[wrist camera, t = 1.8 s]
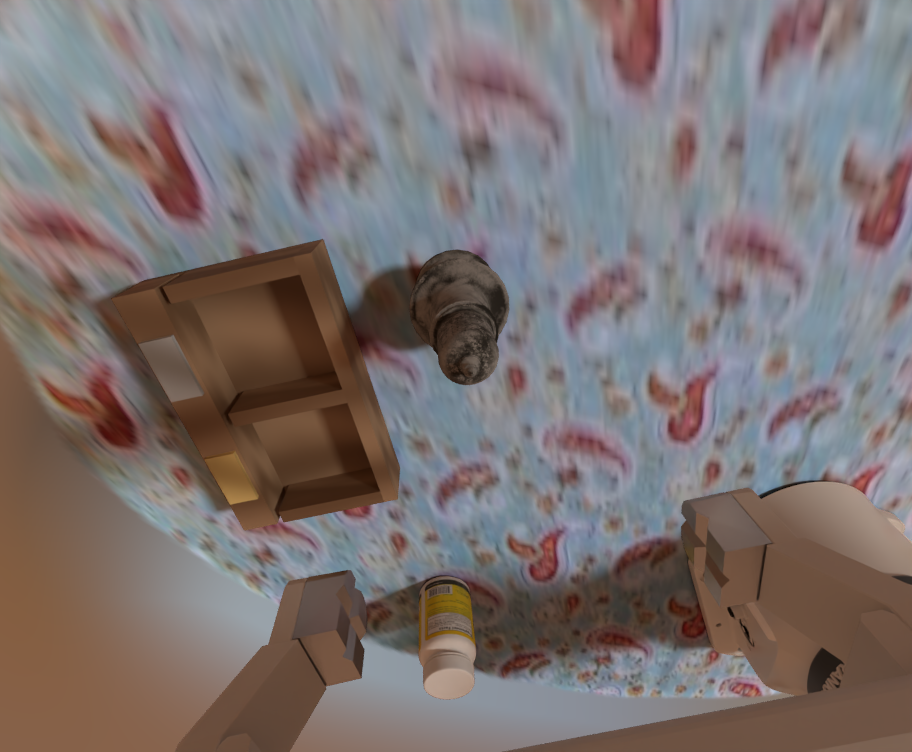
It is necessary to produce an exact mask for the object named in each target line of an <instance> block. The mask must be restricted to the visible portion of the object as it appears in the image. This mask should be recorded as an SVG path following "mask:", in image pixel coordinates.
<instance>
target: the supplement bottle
mask: <svg viewBox="0 0 912 752" xmlns="http://www.w3.org/2000/svg"><path fill="white" fill-rule="evenodd" d="M475 657H476V644H475V635H474V625H473V616H472V607H471V597H470V590H469V588H468V586H467V584H466V583H465V582H464V581H462V580H460V579H458V578H455V577H451V576H440V577H436V578H433V579H431V580H429V581H428V582H426V583H425V584H424V585H423V587H422V588H421V590H420V593H419V660H420V663H421V665H422V666H423V684H424V689H425V691H426V692H427V693H428V694H429V695H431V696H433V697H435V698H439V699H455V698H459V697H462V696H464V695H466V694H467V693H469V692H470V691H471V690H472V688H473V686H474V666H473V662H474V660H475Z"/></svg>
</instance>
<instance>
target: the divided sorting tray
mask: <svg viewBox="0 0 912 752" xmlns="http://www.w3.org/2000/svg"><path fill="white" fill-rule="evenodd" d="M111 299H112V301H113V303H114V304H115V306H116V308H117V310H118V311H119V313H120V315H121V317H122V318H123V320H124V322H125V324H126V325H127V327H128V329H129V331H130V332H131V334H132V336H133V338H134V339H135V341H136V343H137V345H138V346H139V348H140V350H141V351H142V353H143V355H144V357H145V358H146V360H147V362H148V364H149V365H150V367H151V369H152V371H153V372H154V374H155V376H156V378H157V379H158V381H159V383H160V385H161V386H162V388H163V390H164V392H165V393H166V395H167V397H168V398H169V400H170V402H171V404H172V405H173V407H174V409H175V411H176V412H177V414H178V416H179V418H180V419H181V421H182V423H183V425H184V426H185V428H186V430H187V432H188V433H189V435H190V437H191V439H192V440H193V442H194V444H195V445H196V447H197V449H198V451H199V452H200V454H201V456H202V458H203V459H204V461H205V463H206V465H207V466H208V468H209V470H210V472H211V473H212V475H213V477H214V479H215V480H216V482H217V484H218V486H219V487H220V489H221V491H222V493H223V494H224V496H225V498H226V499H227V501H228V503H229V505H230V506H231V508H232V510H233V512H234V513H235V515H236V517H237V519H238V520H239V522H240V524H241V526H242V527H243V529H244V530H249V529H254V528H259V527H263V526H268V525H273V524H277V523H278V520H279V518H280V516H281V518H282V520H283V522H288V521H293V520H298V519H303V518H308V517H313V516H318V515H322V514H327V513H332V512H337V511H342V510H347V509H352V508H357V507H362V506H367V505H372V504H377V503H381V502H386V501H391V500H396V499H398V488H399V475H400V466H399V463H398V460H397V457H396V454H395V451H394V448H393V445H392V442H391V439H390V436H389V433H388V430H387V427H386V424H385V421H384V418H383V415H382V412H381V409H380V407H379V404H378V401H377V398H376V395H375V392H374V389H373V386H372V383H371V380H370V377H369V374H368V371H367V368H366V365H365V362H364V359H363V356H362V353H361V350H360V347H359V344H358V341H357V338H356V335H355V332H354V329H353V326H352V323H351V320H350V317H349V314H348V311H347V308H346V305H345V302H344V299H343V296H342V293H341V290H340V287H339V284H338V282H337V279H336V276H335V273H334V270H333V267H332V264H331V261H330V258H329V255H328V252H327V249H326V246H325V243H324V240H323V239H322V240H317V241H313V242H309V243H304V244H300V245H296V246H291V247H287V248H283V249H278V250H274V251H270V252H265V253H261V254H257V255H252V256H248V257H244V258H239V259H235V260H231V261H226V262H222V263H218V264H213V265H209V266H205V267H200V268H196V269H191V270H187V271H183V272H178V273H174V274H170V275H165V276H161V277H157V278H152V279H148V280H144V281H143V282H141V283H139V284H137V285H135V286H133V287H132V288H130V289H128V290H126V291H124V292H122V293H121V294H119V295H117V296H115V297H113V298H111Z"/></svg>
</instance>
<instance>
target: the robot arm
mask: <svg viewBox="0 0 912 752" xmlns="http://www.w3.org/2000/svg"><path fill="white" fill-rule="evenodd" d="M681 513H682V515H683V516H684V518H685V519H686V521H685V522H684V524H683V525H682V526H681V538H682V541H683V545H684V549H685V551H686V553H687V555H688V557H689V560H688V565H689V569H690V572H691V576H692V580H693V583H694V587H695V590H696V594H697V598H698V601H699V605H700V608H701V612H702V616H703V619H704V623H705V626H706V630H707V634H708V637H709V640H710V643H711V645H712V646H713V648H714V649H715V650H716V651H717V652H718V653H722V654H727V655H737V656H745V657H746V658H747V660H748V662H749V663H750V665H751V666H752V668H753V669H754V671H755V672H756V674H757V675H758V677H759V678H760V680H761V681H762V682H763V683H764V684H765V685H766V686H768V687H769V688H771V689H773V690H776V691H779V692H783V693H787V694H791V695H795V696H793V697H788V698H783V699H777V700H772V701H767V702H761V703H757V704H751V705H746V706H741V707H735V708H730V709H725V710H720V711H714V712H709V713H703V714H698V715H693V716H688V717H683V718H678V719H672V720H667V721H661V722H656V723H651V724H645V725H640V726H635V727H630V728H624V729H619V730H614V731H608V732H603V733H598V734H592V735H587V736H582V737H577V738H571V739H566V740H561V741H556V742H551V743H545V744H540V745H535V746H530V747H524V748H520V749H514V750H509V751H503V752H912V542H911V541H910V540H909V539H908V538H907V537H906V536H905V535H904V534H903V533H904V530H905V525H904V524H903V523H902V522H901V521H900V520H899V519H898V518H897V517H896V516H895V515H894V514H892V513H890V512H887V511H884V510H880V509H877V508H876V507H875V506H874V505H873V504H872V503H871V502H870V500H869V499H868V498H867V497H866V496H865V495H864V494H863V493H862V492H861V491H859V490H858V489H856V488H854V487H852V486H849V485H846V484H842V483H837V482H811V483H804V484H799V485H795V486H791V487H788V488H785V489H782V490H780V491H777V492H775V493H772V494H770V495H768V496H766V497H764V498H762V499H761V498H760V497H759V496H758V495H757V494H756V493H755V492H754V491H753V490H752V489H750V488H743V489H738V490H733V491H729V492H726V493H724V492H723V493H718V494H714V495H709V496H704V497H700V498H695V499H691V500H686V501H684V502H683V504H682V512H681ZM355 581H356V579H355V577H354V575H353V573H352V571H351V570H346V571H340V572H335V573H329V574H324V575H318V576H312V577H308V578H303V579H297V580H292V581H289V582H288V584H287V585H286V586H285V589H284V592H283V595H282V599H281V602H280V606H279V609H278V613H277V616H276V620H275V623H274V627H273V631H272V634H271V637H270V641H269V644H268V645H265V646H262V647H261V648H260V649H259V651H258V652H257V653H256V654H255V655H254V656H253V657H252V659H251V660H250V661H249V662H248V663H247V664H246V666H245V667H244V668H243V669H242V671H241V672H240V673H239V674H238V675H237V676H236V677H235V678H234V680H233V681H232V682H231V683H230V684H229V685H228V687H227V688H226V689H225V690H224V691H223V692H222V694H221V695H220V696H219V697H218V698H217V699H216V701H215V702H214V703H213V704H212V705H211V706H210V708H209V709H208V710H207V711H206V712H205V713H204V715H203V716H202V717H201V718H200V719H199V720H198V721H197V723H196V724H195V725H194V726H193V727H192V729H191V730H190V731H189V732H188V733H187V734H186V735H185V737H184V738H183V739H182V740H181V741H180V742H179V744H178V745H177V748H176V751H175V752H290V750H291V748H292V746H293V745H294V743H295V741H296V740H297V738H298V736H299V735H300V733H301V731H302V729H303V728H304V726H305V724H306V723H307V721H308V719H309V717H310V716H311V714H312V712H313V711H314V709H315V707H316V706H317V704H318V702H319V700H320V699H321V697H322V695H323V694H324V692H325V690H326V687H325V686H330V685H334V684H338V683H343V682H347V681H352V680H356V679H360V678H362V667H363V659H364V648H363V646H362V644H361V642H360V640H361V639H362V637H363V636H364V634H365V633H366V629H367V610H366V604H365V600H364V597H363V594H362V592H361V591H360V590H358V589H356V588H355Z"/></svg>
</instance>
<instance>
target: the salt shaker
mask: <svg viewBox="0 0 912 752" xmlns="http://www.w3.org/2000/svg"><path fill="white" fill-rule="evenodd" d="M409 310H410V317H411V321H412V324H413V326H414V328H415V330H416V332H417V333H418V335H419V336H420V337H421V338H422V339H423V341H424V342H426V343H427V344H429V345H430V346H431V347H433V350H434V351H435V352H436V353H437V355H438V360H439V365H440V368H441V370H442V372H443V373H444V374H445V376H446V377H447V378H448V379H450V380H451V381H453V382H455V383H458V384H462V385H472V384H476V383H479V382H482V381H483V380H485V379H486V378H488V377H489V376H490V375H491V374H492V373H493V371H494V370H495V368H496V366H497V362H498V358H499V351H498V346H497V340H498V336H499V334H500V333H501V331H502V329H503V327H504V326H505V324H506V322H507V317H508V313H509V297H508V294H507V291H506V288H505V285H504V283H503V282H502V280H501V279H500V278H499V276H498V275H497V274H496V273H495V272H494V271H493V270H492V269H491V268H490V267H489V265H488V264H487V263H486V262H485V261H484V260H483V259H482V258H480V257H479V256H478V255H475V254H473V253H471V252H469V251H463V250H450V251H445V252H443V253H440V254H437V255H436V256H434V257H433V258H432V259H430V260H429V261H428V262H427V263H426V264H425V265H424V267H423V268H422V269H421V271H420V273H419V276H418V278H417V282H416V284H415V287H414V289H413V291H412V294H411V298H410V306H409Z"/></svg>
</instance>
